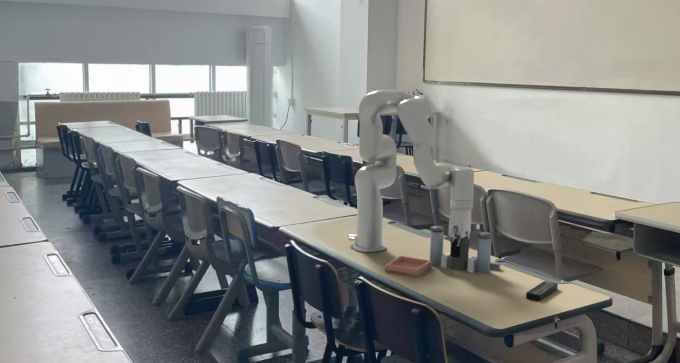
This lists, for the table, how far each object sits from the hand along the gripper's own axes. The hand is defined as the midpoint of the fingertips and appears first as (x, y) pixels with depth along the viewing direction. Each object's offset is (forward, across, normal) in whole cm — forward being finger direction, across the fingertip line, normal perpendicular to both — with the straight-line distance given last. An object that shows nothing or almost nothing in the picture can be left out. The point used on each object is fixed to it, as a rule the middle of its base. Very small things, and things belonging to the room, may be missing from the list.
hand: (459, 253), depth 234 cm
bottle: (+5, 0, 0) cm, 5 cm away
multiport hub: (+6, +12, +31) cm, 34 cm away
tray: (+5, +11, -14) cm, 19 cm away
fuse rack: (+5, -2, 0) cm, 5 cm away
